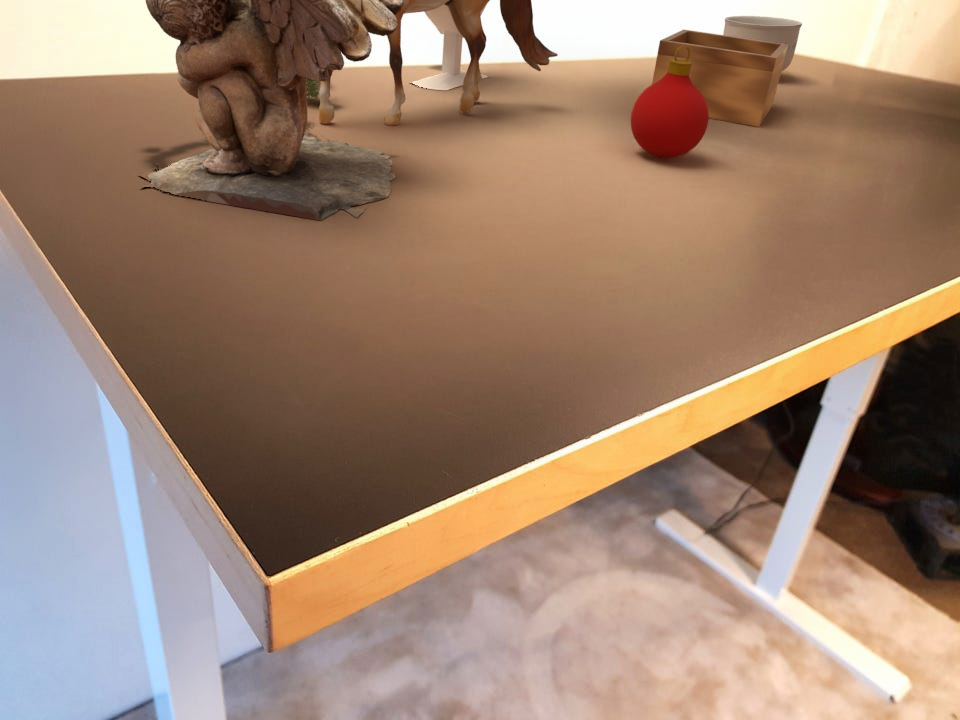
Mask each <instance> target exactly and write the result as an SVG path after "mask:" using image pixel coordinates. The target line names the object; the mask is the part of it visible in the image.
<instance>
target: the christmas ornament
mask: <svg viewBox="0 0 960 720" xmlns="http://www.w3.org/2000/svg"><path fill="white" fill-rule="evenodd" d="M682 47H686V48H687V49H688V57H687V58H686V60H679V59H676V54H677V52H678V50H679V49H680V48H682ZM689 57H690V50H689V48H688V47H687V46H680V47H679V48H678V49H677V50H676V51H675V54H674V58H675V59H670V60H669V67H668V72H667V74H666V75H665V76H664V77H663V78H662V79H660V80H659V81H657V82H656V83H654V84H652V83H651V85H649V86H648V87H646V88H645V89H644V90H643V91H642V92H641V93H640V94H639V96H638V97H637V99H636V101H635V102H634V104H633V107H632V110H631V114H630V129H631V132H632V135H633V138H634V140H635V142H636V143H637V144H638V146H639V147H640V148H641V149H642V150H643V151H645V152H646V153H648V155H651V156H653V157H657V158H660V159H674V158H678V157H681V156H683V155H686V154H687V153H689V152H691V151H692V150H693V149H695V148H696V147H697V146H698V145H699V144H700V142H701V141H702V139H703V137H704V136H705V134H706V132H707V129H708V125H709V119H710V118H709V112H708V106H707V103H706V100H705V98H704V96H703V95H702V93H701V92H700V91H699V90H698V89H697V88H696V87H695V86H694V85H693V83H692V82H691V80H690V78H689V74H690V69H691V65H692V62H690V61H687V60H688V59H689Z"/></svg>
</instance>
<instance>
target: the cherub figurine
mask: <svg viewBox="0 0 960 720" xmlns="http://www.w3.org/2000/svg"><path fill="white" fill-rule="evenodd" d="M145 4H146V8H147V10H148V12H149V14H150V16H151V17H152V19H153V20H154V21H155V22H156V23H157V24H158V26H159V27H160V28H161V30H162V32H163V33H165V34H166V35H167V36H169V37H170V38H173V39H175V40H177V41H179V42H180V43H179V45H178V46H177V48H176V51H175V64H176V68H177V82H178V84H179V85H180V87H181V88H182V89H183V90H184V91H185V92H186V93H187V94H188V95H190V96H192V97H193V98H195V99H197V100H198V106H199V110H198V112H197V113H196V117H195V118H196V119H195V120H196V121H195V122H196V125H197V127H198V129H199V131H200V132H201V133H202V135H203V136H204V137H205V139H206V140H207V142H208V143H209V145H210V146H211V147H212V149H207V150H208V151H206V150H205V151H203V152H204V153H203V152H202V153H199V154H195V155H193V156H188V157H186V158H183V159H180V160H179V161H176V162H173V163H170V164H171V165H170V164H168V165H167V166H168V167H167V166H166V167H164V168H160V169H161V170H159V171H158V170H156V171H157V172H156V171H154V172H149V173H150V174H148V175H147V176H148V177H149V179H150V180H151V182H150V184H152V185H153V186H154V187H155V186H156V187H157V188H158V189H159V188H160V189H163V190H166V191H168V192H171V193H173V194H176V195H181V196H186V197H185V198H187V197H191V198H190V199H192V198H196V199H195V200H198V199H201V200H200V201H203V202H204V201H205V200H206V201H205V202H210V203H216V204H221V205H226V206H227V205H228V206H234V207H238V208H246V209H252V210H257V211H262V212H268V213H273V214H274V213H275V214H279V215H286V216H291V217H297V218H303V219H308V220H309V219H310V220H315V221H319V222H323V220H324V219H326V218H327V217H329V216H332V215H333V214H336V213H337V212H338V211H339V210H343V211H346V212H347V213H348V214H350V215H352V216H353V217H354V218H359V216H361V215H362V214H363V213H364V212H365V211H366V209H361V208H353V207H355V206H362V205H365V204H367V203H371V202H379V201H382V200H384V199H387V198H388V197H389V196H390V193H391V192H392V184H391V182H390V181H393V180H394V179H396V175H395V173H393V172H391V169H392V167H391V166H393V161H392V160H391V159H390V158H395V157H398V158H399V155H386V154H385V152H383V151H379V150H374V149H370V148H365V147H361V146H355V145H352V144H351V145H350V144H349V143H347V142H345V143H342V142H339V141H336V140H335V141H334V140H332V141H322V140H321V139H319V138H317V137H313V136H309V135H308V134H305V133H306V130H307V124H308V101H307V100H308V96H307V94H306V83H307V82H306V81H307V79H306V78H308V79H311V80H314V81H315V82H316V81H317V82H320V83H321V81H324V82H326V81H329V74H328V73H332V74H333V73H334V72H333V71H343V70H342V69H343V68H344V66H345V60H344V58H345V59H347V60H348V61H351V62H355V63H356V62H362V61H365V60H366V59H368V58H370V55H371V53H372V47H373V43H372V39H371V36H370V34H372V35H377V36H381V37H385V36H386V37H387V36H389V34H392V33H393V32H394V31H395V30H396V29H397V20H396V17H395V16H394V15H396V14H397V13H399V12H400V11H401V9H402V7H403V0H145ZM314 81H313V82H314ZM317 82H316V83H317ZM153 164H154V165H155V166H153V168H157V169H159V163H157V162H154V161H153ZM169 165H170V166H169ZM147 176H146V177H147ZM148 177H147V178H148ZM181 196H180V197H181ZM351 207H352V208H351Z"/></svg>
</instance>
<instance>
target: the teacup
mask: <svg viewBox="0 0 960 720" xmlns="http://www.w3.org/2000/svg"><path fill="white" fill-rule="evenodd" d="M802 26H803V23H802V22H801V21H799V20H794V19H789V18H783V17H774V16H760V15H759V16H757V15H732V16H726V17H725V18H724V29H723V32H722V33H723V34H722V35H725V36H732V37H739V38H746V39H753V40H760V41H767V42H774V43H781V44H788V48H787V52H786V56H785V59H784V63H783V67H782V71H781V73H782V72H783V71H785V70H786V69H788V68H789V66H790V65H791V63H792V61H793V58H794V55H795V52H796V48H797V44H798V40H799V34H800V31H801V28H802Z"/></svg>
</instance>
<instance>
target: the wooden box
mask: <svg viewBox="0 0 960 720" xmlns="http://www.w3.org/2000/svg"><path fill="white" fill-rule="evenodd" d="M658 43H659V44H658V49H657V55H656V60H655V65H654V70H653V76H652V82H651V85H652V84H654V83H656V82H657V81H659V80H660V79H662V78H663V77H664V76H665V75H666V74H667V72H668V67H669V60H670V59H675V58H674V54H675V51H676V50H677V49H678V48H679V47H680V46H687V47H688V48H689V50H690V57H689V59H688V60H687V61H690V62H692V65H691V69H690V74H689V78H690V80H691V82H692V83H693V85H694V86H695V87H696V88H697V89H698V90H699V91H700V92H701V93H702V95H703V96H704V98H705V100H706V103H707V106H708V112H709V119H712V120H718V121H724V122H728V123H734V124H740V125H745V126H751V127H757V128H759V127H760V125H761V124H762V122H763V121H764V119H765V118H766V117H767V115H768V113H769V112H770V110H771V109H772V108H773V105H774V100H775V97H776V93H777V90H778V86H779V82H780V77H781V73H782V72H783V71H782V67H783V63H784V59H785V56H786V52H787V48H788V44H781V43H774V42H767V41H760V40H753V39H746V38H739V37H732V36H725V35H723V34H719V33H711V32H705V31H704V32H703V31H696V30H691V29H682V30H680V31H677V32H675V33H673V34H671V35H668V36H666V37H664V38H662V39H660V40H659V42H658ZM687 57H688V49H687V48H686V47H682V48H680V49H679V50H678V52H677V54H676V59H679V60H686V58H687ZM781 71H782V72H781Z"/></svg>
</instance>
